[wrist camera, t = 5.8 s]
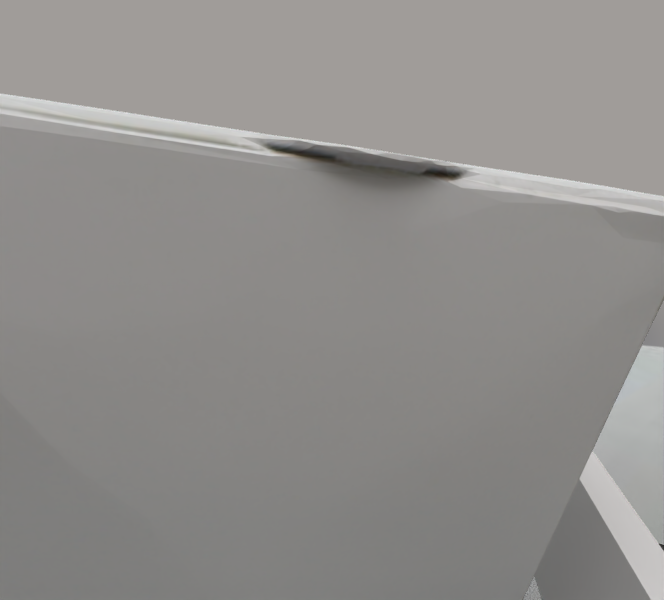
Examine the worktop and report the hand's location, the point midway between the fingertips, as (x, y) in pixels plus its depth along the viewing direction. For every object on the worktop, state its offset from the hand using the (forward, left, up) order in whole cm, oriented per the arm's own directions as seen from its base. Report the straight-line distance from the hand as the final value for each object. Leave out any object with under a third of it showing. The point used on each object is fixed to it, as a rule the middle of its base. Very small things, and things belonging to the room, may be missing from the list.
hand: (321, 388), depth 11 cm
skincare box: (0, -4, -9) cm, 10 cm away
